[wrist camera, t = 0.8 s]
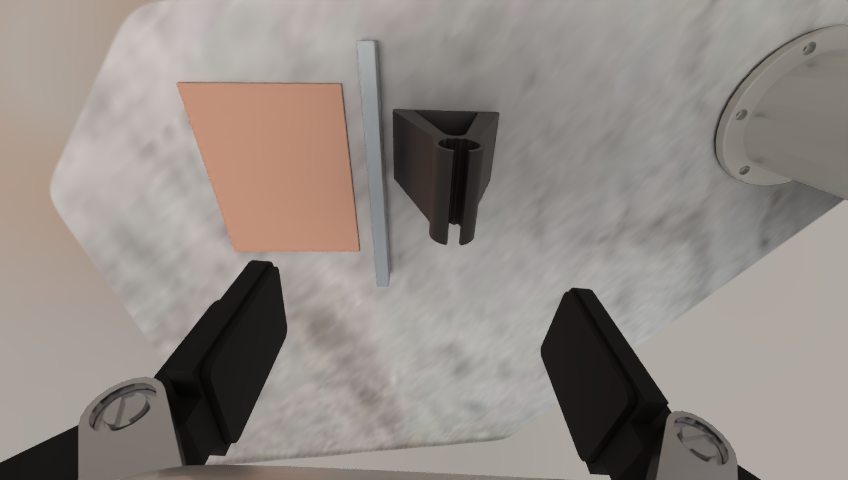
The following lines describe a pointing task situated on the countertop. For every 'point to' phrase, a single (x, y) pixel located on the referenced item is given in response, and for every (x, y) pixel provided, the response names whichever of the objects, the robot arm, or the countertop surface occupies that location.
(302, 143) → the mat
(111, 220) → the countertop surface
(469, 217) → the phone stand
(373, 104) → the acrylic wall
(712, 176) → the countertop surface
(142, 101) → the countertop surface
